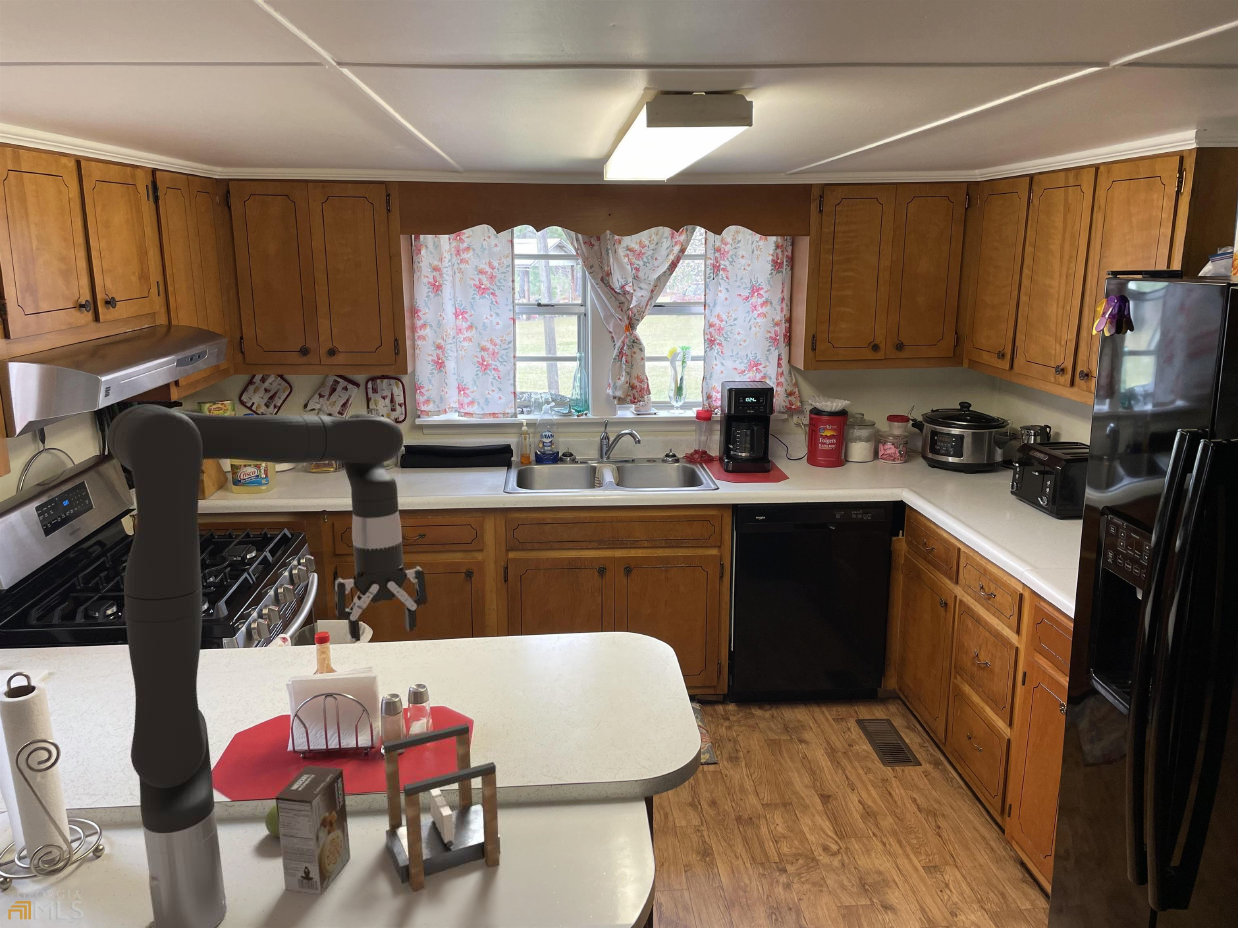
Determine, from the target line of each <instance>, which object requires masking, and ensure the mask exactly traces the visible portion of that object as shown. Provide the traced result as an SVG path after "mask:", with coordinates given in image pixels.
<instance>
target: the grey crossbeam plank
mask: <svg viewBox="0 0 1238 928" xmlns="http://www.w3.org/2000/svg"><path fill="white" fill-rule="evenodd" d="M492 773H496V774H497V766H496V764H495V763H494V761H491V762H487V763H483V764H480V765H476V766H471V768H468V769H464V770H460V771H457V770H456V771H453V772H449V773H445V774H440V775H437V776H433V777H430V778H429V777H428V778H425V779H422V780H417V781H415V782H410V783H407V784H403V795H404V794H405V796H410V795H414V794H417V793H419V794H421V793H424V792H427V791H429V792H430V790H432V789H436V788H439V789H440V788H444V787H446V786H450V785H454V784H458V783H459V782H462V781H466V780H470V779H471V780H473V779H477V778H481V776H485V775H489V774H492Z"/></svg>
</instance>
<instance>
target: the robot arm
mask: <svg viewBox="0 0 1238 928" xmlns="http://www.w3.org/2000/svg"><path fill="white" fill-rule="evenodd" d="M106 437H107V439H106V441H107V445H108V448H109V451H110V452H111V455H112V456H113V457H114V459H115V460H116V461H117V462H119V464H120V465H122V466H123V467H124V468H126V469H127V470H130V471H131V475H132V480H133V485H134V493H135V494H134V495H135V503H136V518H137V519H136V529H135V533H134V537H133V541H132V544H131V548H130V551H129V554H128V557H127V561H126V565H125V572H124V579H123V580H124V581H123V596H124V615H125V616H124V618H125V625H126V636H127V645H128V652H129V659H130V665H131V671H132V676H133V677H132V678H133V683H134V693H135V707H134V708H135V709H134V726H133V728H134V729H133V736H132V742H131V749H130V760H131V764H132V767H133V769H134V771H135V773H136V774H137V776H138V780H139V799H140V802H139V805H140V806H139V807H140V815H141V822H142V828H143V836H144V845H145V850H146V852H145V853H146V858H147V859H146V860H147V866H148V886H149V893H150V901H151V908H152V917H153V923H154V928H216V927H218V925H219V924H220V923H221V922H222V921H223V919H224V918H225V916H226V913H227V902H226V897H227V896H226V893H225V884H224V875H223V865H222V861H221V859H222V857H221V848H220V842H219V834H218V825H217V817H216V815H217V814H216V806H215V798H214V784H213V782H214V781H213V770H212V762H211V752H210V744H209V743H210V741H209V733H208V727H207V726H208V725H207V721H206V717H205V716H204V713H203V712H202V711H201V710H200V709H199V702H198V700H199V699H198V691H197V690H198V688H197V687H198V686H197V683H198V681H197V680H198V670H199V662H200V661H199V660H200V653H201V645H202V644H201V643H202V630H203V629H202V628H203V585H202V584H203V582H202V571H201V550H200V549H201V548H200V546H201V545H200V544H201V543H200V533H199V531H200V529H199V497H200V489H201V488H200V485H201V475H202V474H201V473H202V465H203V461H204V460H234V461H235V460H239V461H248V462H249V461H251V462H262V463H273V464H308V463H310V464H311V463H313V464H314V463H325V462H343V466H344V469H345V473H346V476H347V479H348V482H349V485H350V489H351V492H350V493H351V509H352V524H351V525H352V526H351V531H352V532H351V540H352V544H353V545H352V547H353V557H354V558H353V559H354V560H353V561H354V576H353V578H350V579H349V578H348V579H343V578H341V577H337V578H335V580H334V611H335V614H336V616H337V617H338V619H340V620H342V619H346V620H347V625H348V626H347V627H348V634H349V635H350V637H351V639H354V642H360V641H361V628H360V619H359V616H360V615H361V613H362V612H363V611H364V610H365V609H366V608H367V606H368V604H369V603H370V602H371V603H373V604H374V603H375V604H376V603H379V602H382V601H393V600H394V598H396V597H397V598H398V599H399V600H400V601H401V602H402V603H403V604H404V605H405V606H404V614H405V615H404V616H405V628H406V630H407V632H409V633H410V632H414V628H416V627H417V624H418V623H417V622H418V621H417V620H418V619H417V609H418V607H420V606H421V605H423V606H424V605H426V604H428V596H427V595H428V594H427V593H428V592H427V586H426V579H425V578H426V577H425V572H424V570H423V569H422V568H421V567H420V566H419V565H416V566H414V567H413V568H412V569H407V570H405V567H404V553H403V536H402V532H403V531H402V523H401V518H400V512H399V499H398V485H397V481H396V479H395V478H394V477H393V476H392V475H391V474H390V473H389V472H388V470H387V469H386V468H385V464H384V463H386V462H389V461H391V460H392V459H394V458H395V457H396V456H398V454H399V453H400V452H401V450H402V448H403V444H404V435H403V432H402V430H401V427H400V426H399V425H398V424H397V423H396V422H395V421H393V420H391V419H389V418H387V417H385V416H384V417H383V416H378V415H374V414H369V413H364V412H358V413H353V414H351V415H350V416H348V417H347V418H342V417H334V416H329V415H325V414H324V415H323V414H322V415H321V414H274V415H273V414H265V415H229V414H227V415H225V414H209V413H202V412H201V413H199V412H192V411H191V412H190V411H184V410H179V409H173V408H172V409H171V408H168V407H165V406H163V405H159V404H150V403H149V404H148V403H146V404H137V405H135V406H131V407H129V408H127V409H125V410H123V411H122V412H121V413H119V414H117V416H116V417H115V418H114V419H113V420H112V422H111V423H110V425H109V428H108V431H107V435H106ZM408 578H409V579H410V581H411V583H413V584H414V589H415V596H414V597H411V596H410V595H409V594H407V592H405V590H404V589H403V586H404V585H405V583H406V581H407V580H408ZM352 587H354V588H355V589H356V590H357V591H358V592H357V594H356V595H355V596H354V598H353V601H352V603H351V604H350V606H349V607H348V608H346V607H347V605H346V603H347V602H346V598H347V597H346V595H347V594H350V592H351V589H352Z"/></svg>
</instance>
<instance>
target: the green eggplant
mask: <svg viewBox="0 0 1238 928" xmlns="http://www.w3.org/2000/svg"><path fill="white" fill-rule="evenodd" d="M264 825H265V827H266V830H267V832H268V833H269V834H270V835H271V836H274V837H276V838H280V833H279V824H278V815H277V805H276V804H274V805H273V806H271V808H269V810H268V812H267V813H266V816H265V820H264Z"/></svg>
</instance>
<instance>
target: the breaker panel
mask: <svg viewBox="0 0 1238 928" xmlns="http://www.w3.org/2000/svg"><path fill="white" fill-rule="evenodd" d="M451 812H452V817H453V837H454V840H453V841H452V842H453V846H452V847H451V848H448V847H447V845H446V843H445V842H444V840H443V838H442V836H441V833H440V832H439V830H438V828H437V826H436V823H435V822H434V820H433V818H432V817H430V818H426V819H421V835H422V852H423V869H424V877H427V876H430V875H433V874H436V873H440V872H443V871H447V870H451V869H453V868H456V867H460V866H463V865H466V864H470V863H473V862H476V861H479V860H482V859H485V852H484V829H483V805H481V803H479V804H475V805H472V806H471V807H468V808H464V809H461V810H459V809H457V810H454V811H451ZM385 839H386V848H387V851H388V854H389V856H390V858H391V861H392V863H393V866H394V869H395V871H396V873H397V875H398V878H399V881H400V884H404V883H408V882H410V877H409V861H408V845H407V829H406V824H404V825H402V826H400V827H396V828H393V829H386V830H385ZM498 841H499V854H501V836H500V834H498Z"/></svg>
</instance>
